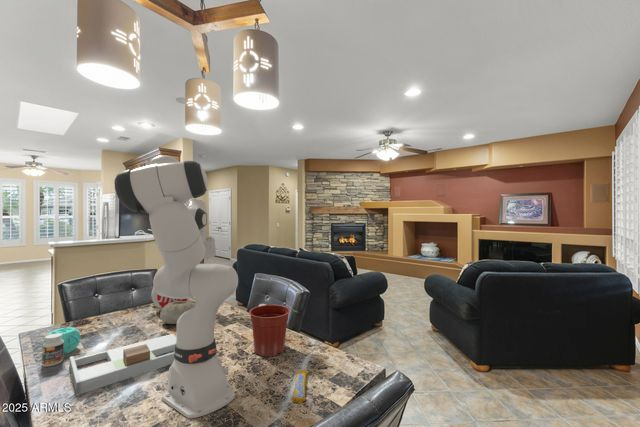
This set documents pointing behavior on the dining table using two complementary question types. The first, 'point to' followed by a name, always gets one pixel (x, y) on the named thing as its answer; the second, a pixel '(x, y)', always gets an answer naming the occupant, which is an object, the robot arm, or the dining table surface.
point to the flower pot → (269, 329)
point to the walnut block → (136, 355)
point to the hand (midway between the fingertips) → (194, 270)
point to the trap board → (120, 364)
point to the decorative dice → (68, 338)
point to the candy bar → (300, 386)
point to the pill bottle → (53, 350)
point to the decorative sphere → (162, 299)
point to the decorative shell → (175, 311)
